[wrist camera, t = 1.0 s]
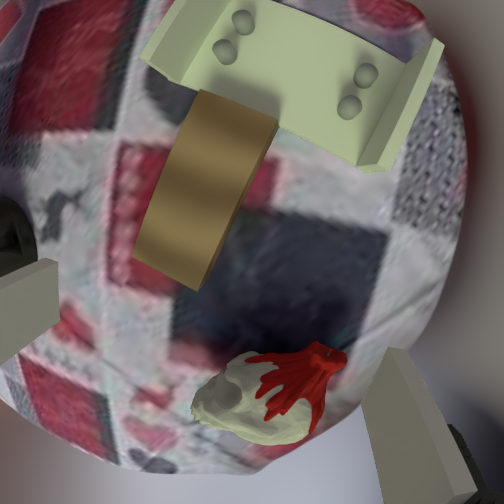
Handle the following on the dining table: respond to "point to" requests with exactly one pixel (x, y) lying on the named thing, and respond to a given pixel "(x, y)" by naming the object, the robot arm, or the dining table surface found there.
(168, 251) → the brown long block
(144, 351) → the dining table surface
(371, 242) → the dining table surface
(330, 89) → the shelf frame
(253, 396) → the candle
